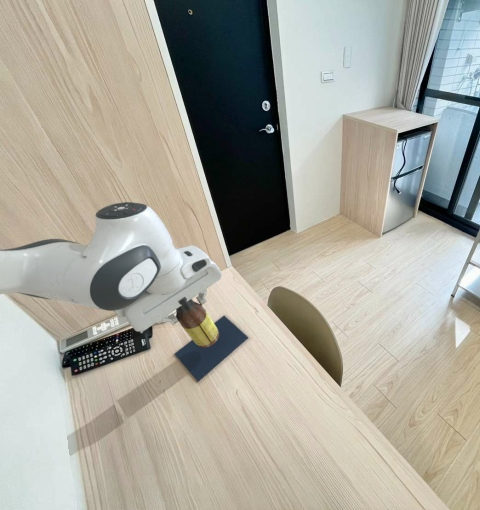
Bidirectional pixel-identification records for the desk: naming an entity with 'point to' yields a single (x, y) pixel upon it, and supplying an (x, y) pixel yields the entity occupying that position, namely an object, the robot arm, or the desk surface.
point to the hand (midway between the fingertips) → (189, 311)
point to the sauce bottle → (197, 323)
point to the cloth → (211, 349)
